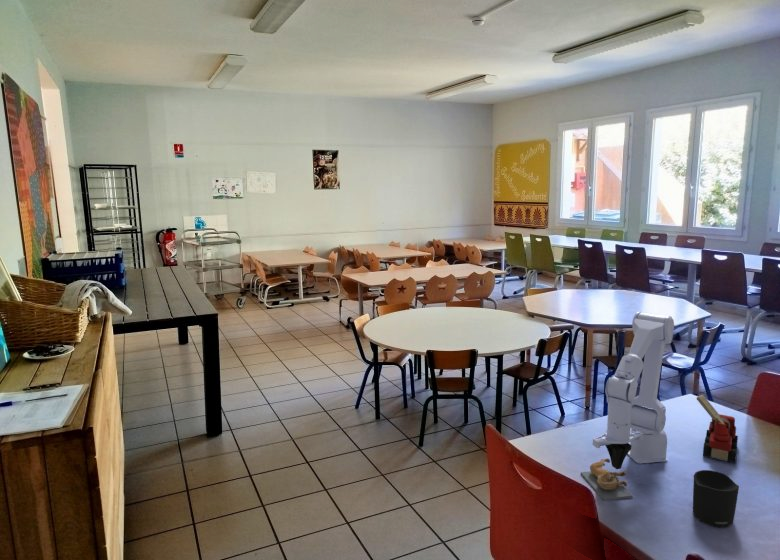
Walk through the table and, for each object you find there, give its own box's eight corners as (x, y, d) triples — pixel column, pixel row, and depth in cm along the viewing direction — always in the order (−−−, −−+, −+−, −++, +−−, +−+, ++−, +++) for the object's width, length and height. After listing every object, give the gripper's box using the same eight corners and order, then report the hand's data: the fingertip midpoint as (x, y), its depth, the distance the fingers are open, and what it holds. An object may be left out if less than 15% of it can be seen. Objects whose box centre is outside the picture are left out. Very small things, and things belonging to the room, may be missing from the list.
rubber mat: (607, 471, 154) (607, 469, 154) (632, 497, 141) (632, 495, 141) (580, 474, 153) (580, 472, 153) (603, 500, 140) (603, 498, 140)
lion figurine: (633, 471, 142) (601, 474, 141) (634, 491, 142) (602, 495, 140) (604, 455, 156) (575, 458, 155) (605, 474, 156) (576, 476, 155)
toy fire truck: (737, 445, 168) (743, 391, 165) (735, 467, 155) (740, 409, 152) (696, 436, 174) (700, 384, 171) (690, 456, 162) (695, 401, 159)
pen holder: (686, 518, 132) (689, 481, 131) (696, 501, 139) (699, 466, 137) (730, 534, 126) (734, 495, 124) (738, 515, 133) (742, 478, 131)
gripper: (631, 411, 150) (628, 456, 152) (586, 418, 146) (584, 464, 149) (649, 421, 143) (646, 468, 146) (603, 429, 139) (600, 477, 142)
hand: (616, 467), depth 147 cm, fingers closed
